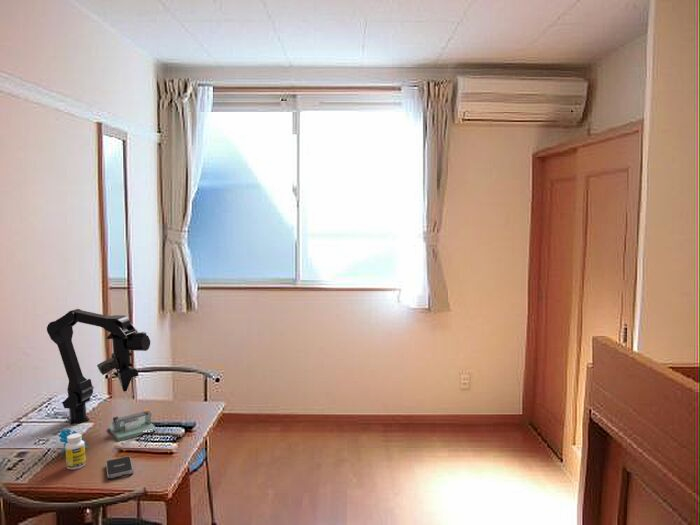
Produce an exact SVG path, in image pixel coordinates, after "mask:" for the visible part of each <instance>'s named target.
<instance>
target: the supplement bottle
mask: <svg viewBox="0 0 700 525" xmlns="http://www.w3.org/2000/svg"><path fill="white" fill-rule="evenodd" d="M81 434H82V433H81ZM81 434H80V432H79V433H78V432H77V433H75V434H72V433H71V435H69V436H67V442H68V443H67V444H66V445H65V447H64V448H65V451H66V452H65V460H66V468H67V469H68V470H77V469H81V468H83V467H84V466H85V465H86V464H87V460H86V458H87V457H86V449H85V445H86V443H85V444H84V441H83V440H84V439H82V438H83V436H82V437H81Z"/></svg>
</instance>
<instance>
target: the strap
mask: <svg viewBox="0 0 700 525" xmlns="http://www.w3.org/2000/svg"><path fill="white" fill-rule="evenodd" d="M147 413H150V410H149V409H148V408H144V409H143V411H140V412H136V413H133V414H129V415H124V416H121V417H118V418H117V419H116V420H119V419H120V420H121V422H123V421H127V420H131V419H134V418H142V417H145V416H146V415H147Z"/></svg>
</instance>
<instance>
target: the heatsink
mask: <svg viewBox="0 0 700 525" xmlns="http://www.w3.org/2000/svg"><path fill="white" fill-rule="evenodd" d="M138 418H139V417H138ZM138 418H134V419H131V420H127V421H123V422H121V427H122V428H123V429H124V430H125V431H130V430H134V429H138V428H140V420H139V419H138Z"/></svg>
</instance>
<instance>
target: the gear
mask: <svg viewBox="0 0 700 525" xmlns="http://www.w3.org/2000/svg"><path fill="white" fill-rule="evenodd" d="M75 433H78V432H77V431H76V430H73V431H72V430H71V429H68V428H67V429H62V430H61V431H60V433H59V434H58V437H59V442H60V443H63V447H64V448H63V449H62V450H61V453H62V454H66V451H65V445H66V444H67V443H68V442H67V436H69V435H71V434H75ZM79 433H80V432H79ZM80 434H81V437H82V438H83V433H82V432H81V433H80ZM82 440H83V441H84V444H85V450H86V449H87V447H88V445H87V441H86V440H85V439H82Z"/></svg>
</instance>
